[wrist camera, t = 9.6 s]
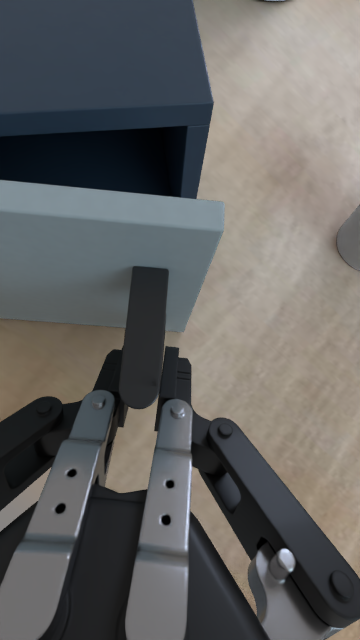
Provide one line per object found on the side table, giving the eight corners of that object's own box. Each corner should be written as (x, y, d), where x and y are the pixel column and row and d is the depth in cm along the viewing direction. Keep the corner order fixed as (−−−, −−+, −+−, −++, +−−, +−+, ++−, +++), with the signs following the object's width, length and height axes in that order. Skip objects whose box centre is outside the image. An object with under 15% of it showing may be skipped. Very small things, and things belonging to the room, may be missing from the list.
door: (179, 398, 22) (218, 424, 7) (-30, 385, 21) (-497, 379, 6) (184, 320, 23) (225, 200, 8) (-11, 305, 22) (-351, 143, 8)
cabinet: (181, 281, 24) (214, 102, 9) (-11, 302, 23) (-363, 131, 7) (164, 172, 26) (169, -115, 11) (-10, 184, 25) (-272, -125, 10)
